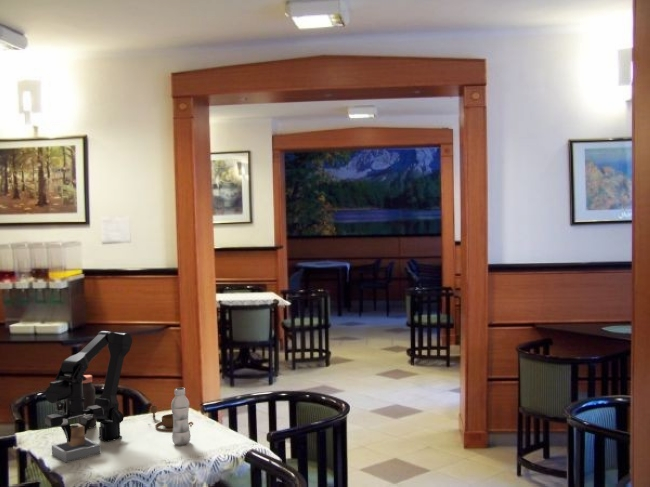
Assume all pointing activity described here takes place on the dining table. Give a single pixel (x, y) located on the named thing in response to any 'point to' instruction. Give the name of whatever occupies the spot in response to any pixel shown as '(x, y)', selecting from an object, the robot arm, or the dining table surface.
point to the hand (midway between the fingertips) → (75, 440)
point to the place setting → (164, 421)
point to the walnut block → (77, 435)
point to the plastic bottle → (180, 418)
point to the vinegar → (88, 397)
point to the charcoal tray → (75, 450)
